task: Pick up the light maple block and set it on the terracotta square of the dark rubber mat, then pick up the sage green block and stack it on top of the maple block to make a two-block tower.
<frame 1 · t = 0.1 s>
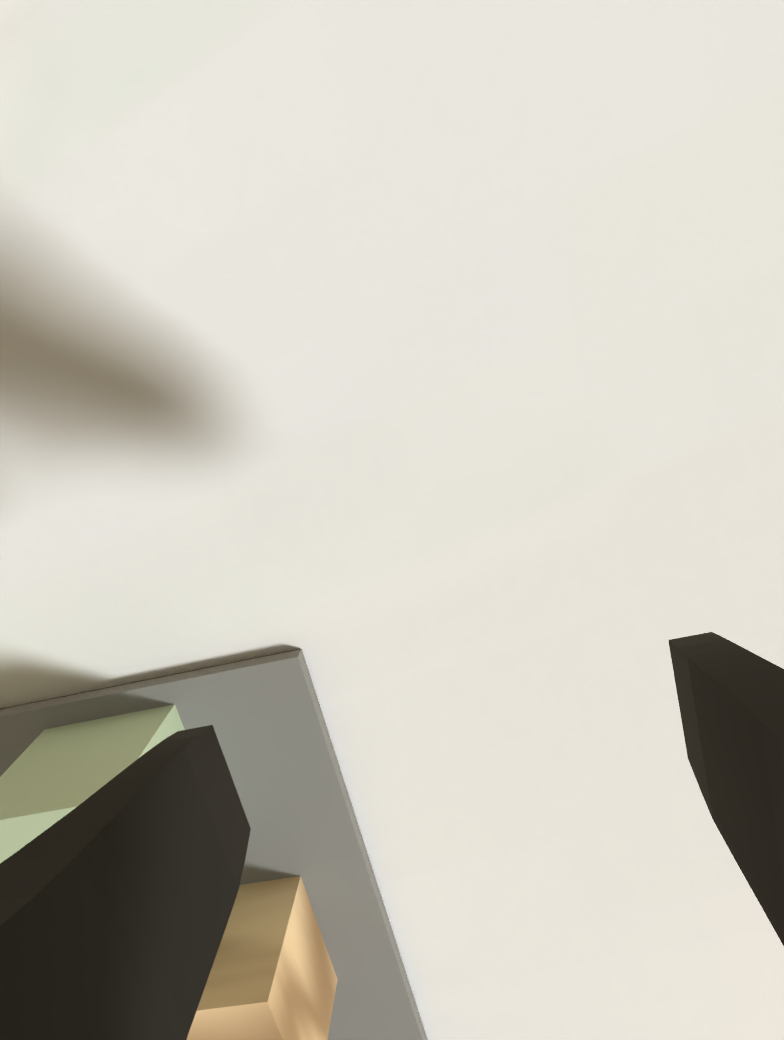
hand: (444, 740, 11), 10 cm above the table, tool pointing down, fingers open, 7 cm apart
maple block: (257, 937, 25), resting on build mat
sage block: (133, 776, 24), resting on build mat
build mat: (216, 954, 26), on the table
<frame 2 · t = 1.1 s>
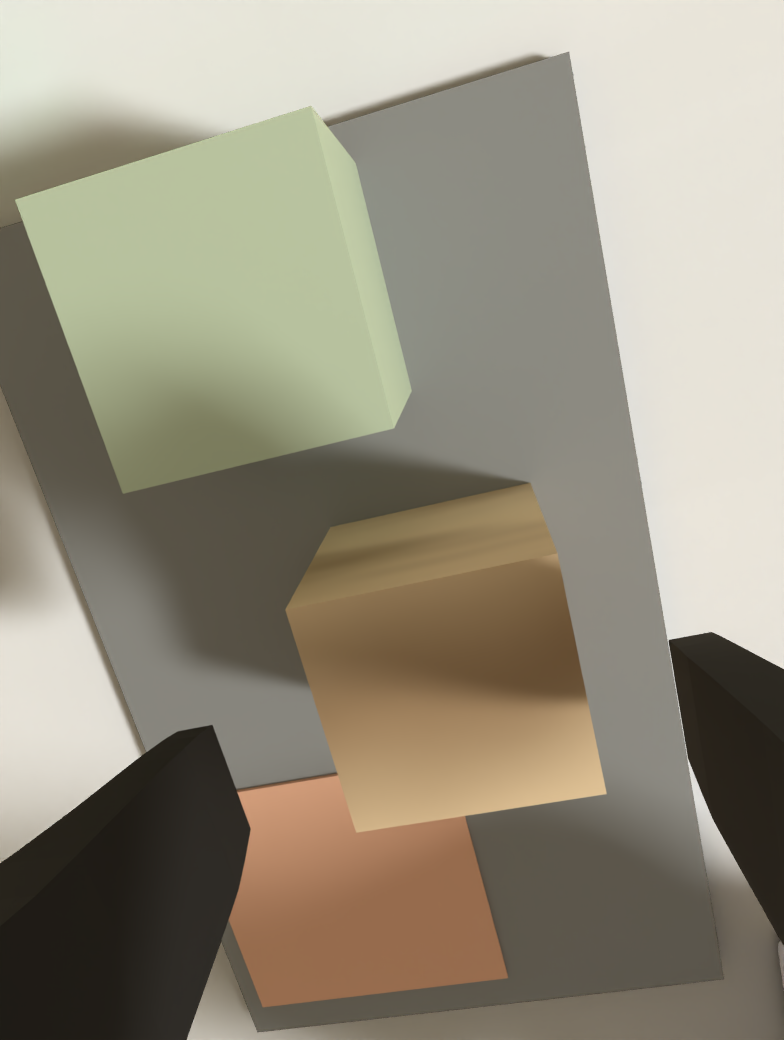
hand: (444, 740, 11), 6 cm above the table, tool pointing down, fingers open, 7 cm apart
maple block: (451, 598, 17), resting on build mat
sage block: (279, 310, 15), resting on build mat
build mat: (380, 643, 18), on the table
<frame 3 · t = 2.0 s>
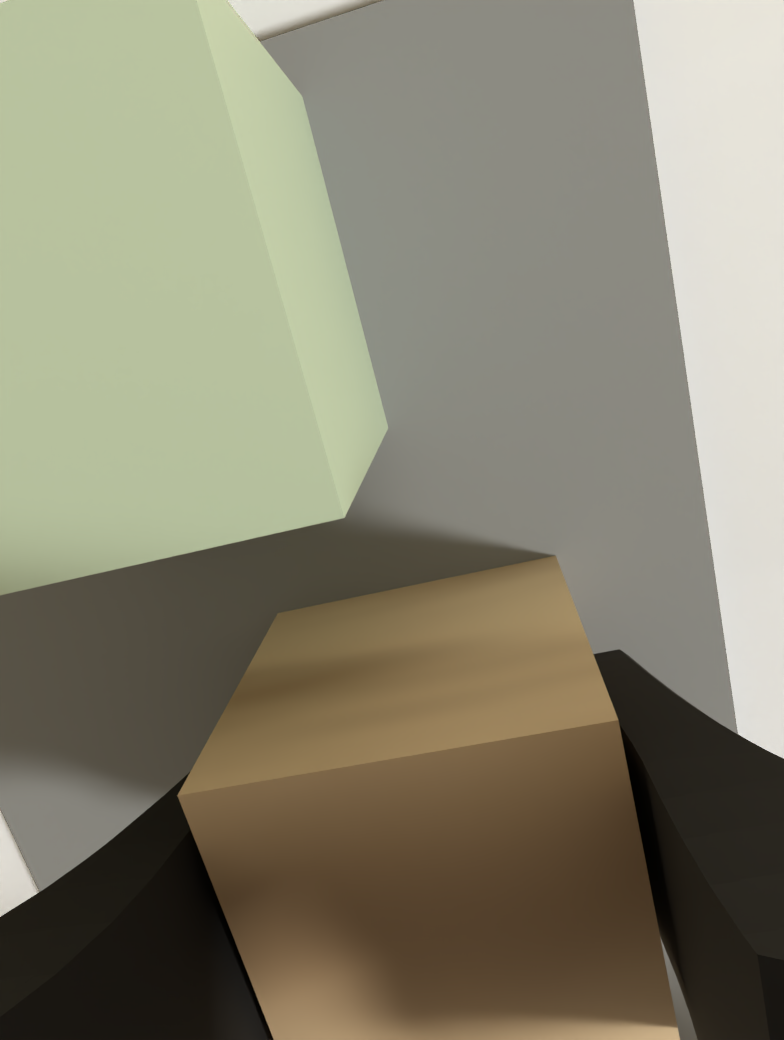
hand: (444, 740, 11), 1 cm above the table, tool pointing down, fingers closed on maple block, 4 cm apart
maple block: (445, 708, 12), resting on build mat, touching gripper
sage block: (198, 313, 11), resting on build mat
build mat: (349, 761, 13), on the table
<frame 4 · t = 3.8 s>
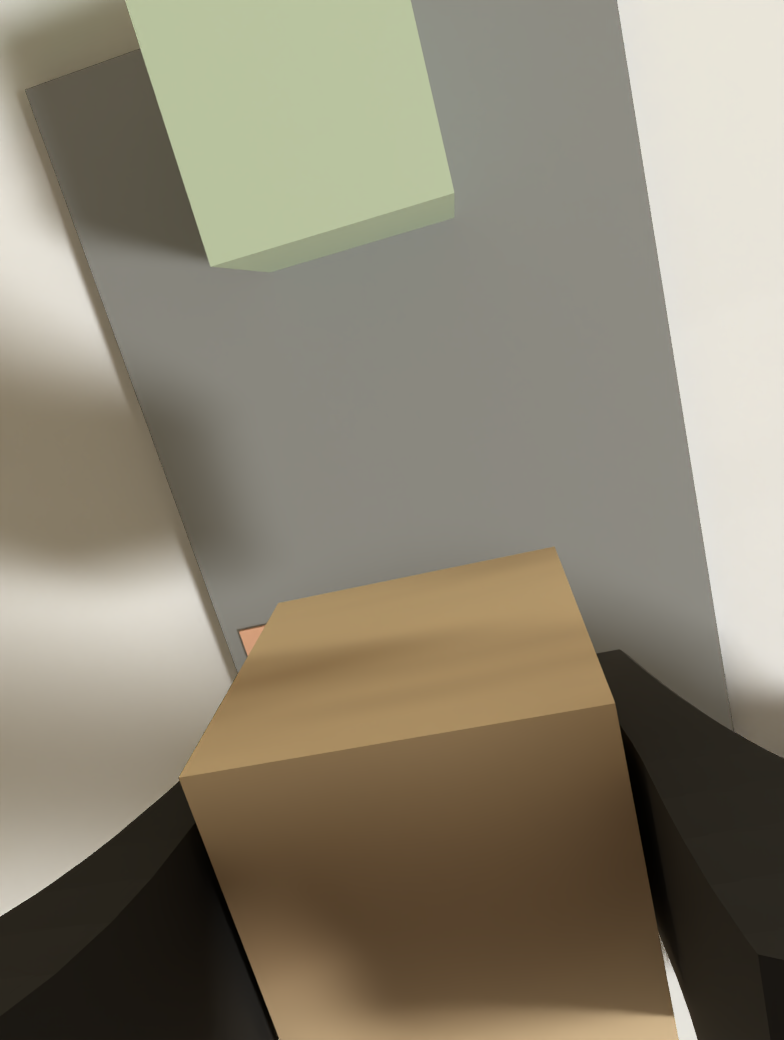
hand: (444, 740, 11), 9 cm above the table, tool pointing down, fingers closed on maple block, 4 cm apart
maple block: (444, 698, 12), point 8 cm above the table, touching gripper
sage block: (333, 143, 16), resting on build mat
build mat: (422, 473, 19), on the table
when the fingers open (2 cm above the table, at t = 5.9 s): maple block stays where it is, resting on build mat.
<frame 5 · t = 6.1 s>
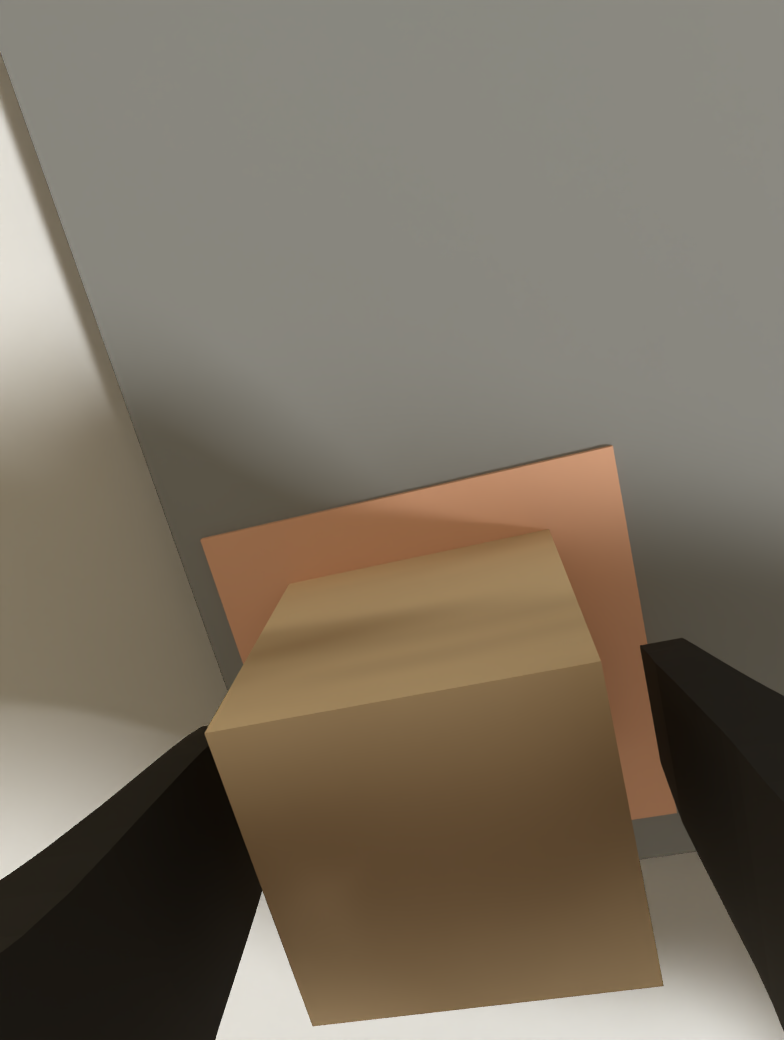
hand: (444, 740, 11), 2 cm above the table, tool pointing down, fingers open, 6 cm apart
maple block: (445, 674, 13), point 1 cm above the table, touching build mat
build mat: (508, 268, 11), on the table
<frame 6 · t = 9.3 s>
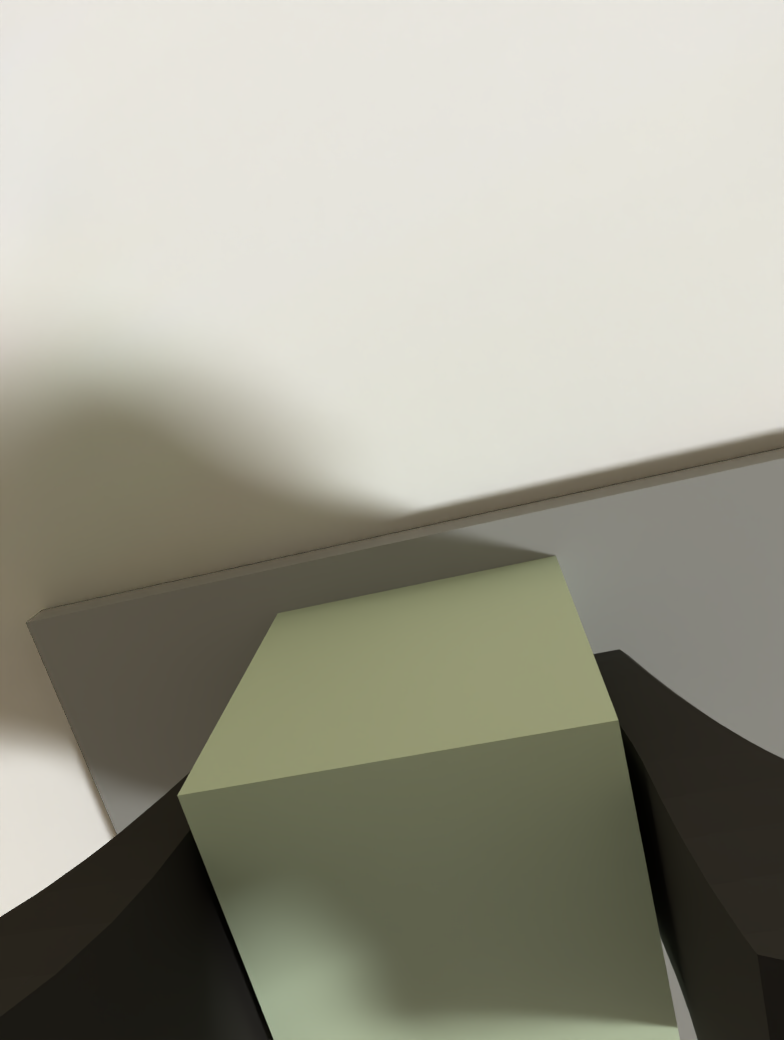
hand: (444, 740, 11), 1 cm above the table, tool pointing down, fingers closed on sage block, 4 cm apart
sage block: (445, 708, 12), resting on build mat, touching gripper
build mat: (536, 1037, 15), on the table
when the fingers open (7 cm above the table, at t = 12.7 s): sage block stays where it is, resting on maple block.
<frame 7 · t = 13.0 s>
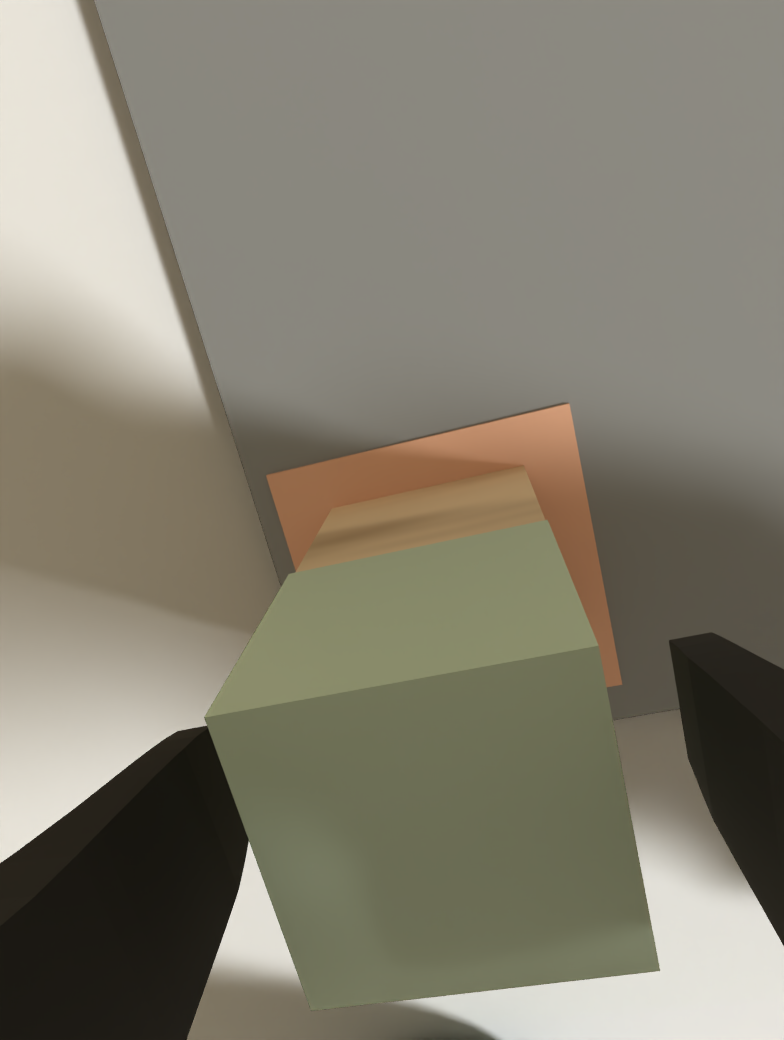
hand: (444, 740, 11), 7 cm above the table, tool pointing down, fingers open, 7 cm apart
maple block: (448, 577, 17), point 1 cm above the table, touching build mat, sage block
sage block: (444, 664, 13), point 5 cm above the table, touching maple block
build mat: (493, 275, 16), on the table
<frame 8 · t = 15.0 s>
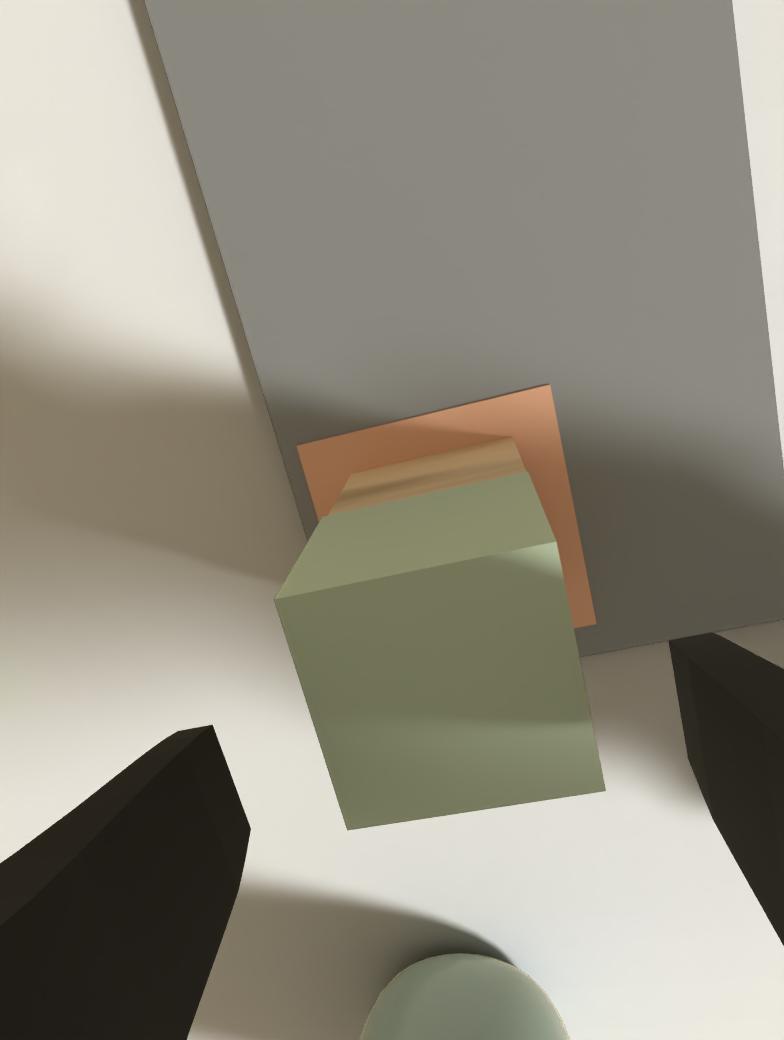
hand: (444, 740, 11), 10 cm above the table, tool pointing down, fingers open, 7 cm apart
maple block: (449, 532, 21), point 1 cm above the table, touching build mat, sage block
sage block: (446, 590, 16), point 5 cm above the table, touching maple block
cup: (465, 995, 27), on the table
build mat: (486, 277, 19), on the table
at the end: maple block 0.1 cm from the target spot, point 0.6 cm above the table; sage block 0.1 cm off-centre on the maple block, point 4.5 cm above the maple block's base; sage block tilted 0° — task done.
